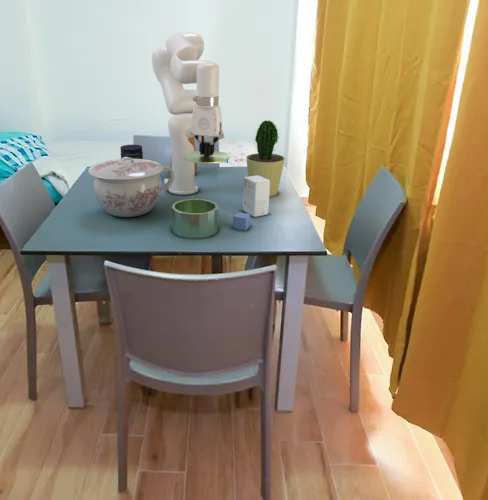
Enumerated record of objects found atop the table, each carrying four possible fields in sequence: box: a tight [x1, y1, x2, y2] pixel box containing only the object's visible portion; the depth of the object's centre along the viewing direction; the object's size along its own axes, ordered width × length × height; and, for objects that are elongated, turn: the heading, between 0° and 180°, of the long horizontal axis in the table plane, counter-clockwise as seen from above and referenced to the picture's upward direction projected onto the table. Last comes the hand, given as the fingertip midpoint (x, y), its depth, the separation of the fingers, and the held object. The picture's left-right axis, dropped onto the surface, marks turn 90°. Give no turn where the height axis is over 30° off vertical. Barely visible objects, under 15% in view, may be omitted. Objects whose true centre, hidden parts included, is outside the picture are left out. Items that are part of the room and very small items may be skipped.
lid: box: [184, 141, 230, 165], centre depth 174 cm, size 16×16×6 cm
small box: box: [242, 175, 270, 218], centre depth 179 cm, size 8×6×13 cm
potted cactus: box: [245, 119, 286, 198], centre depth 197 cm, size 15×15×30 cm
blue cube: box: [232, 212, 251, 231], centre depth 168 cm, size 4×4×4 cm
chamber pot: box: [87, 157, 174, 218], centre depth 180 cm, size 28×28×21 cm
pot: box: [171, 198, 219, 239], centre depth 165 cm, size 15×15×8 cm
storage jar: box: [120, 144, 144, 159], centre depth 219 cm, size 10×10×15 cm
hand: (206, 154), depth 175 cm, fingers closed on lid, 2 cm apart
